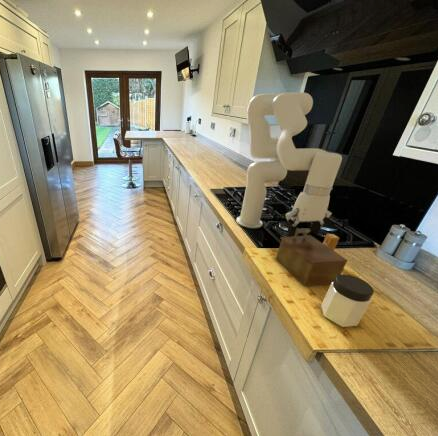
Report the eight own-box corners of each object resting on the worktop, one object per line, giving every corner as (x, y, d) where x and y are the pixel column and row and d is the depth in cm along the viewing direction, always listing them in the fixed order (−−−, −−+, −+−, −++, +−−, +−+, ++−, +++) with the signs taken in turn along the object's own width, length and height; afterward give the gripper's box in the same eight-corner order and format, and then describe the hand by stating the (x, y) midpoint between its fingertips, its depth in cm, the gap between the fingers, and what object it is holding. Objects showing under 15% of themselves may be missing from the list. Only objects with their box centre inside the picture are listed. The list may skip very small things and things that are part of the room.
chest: (275, 258, 94) (281, 239, 90) (304, 256, 95) (311, 238, 91) (303, 285, 80) (312, 264, 76) (336, 282, 81) (346, 262, 77)
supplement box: (331, 259, 93) (340, 238, 89) (322, 259, 94) (331, 237, 89) (325, 254, 96) (334, 233, 92) (317, 254, 97) (325, 233, 92)
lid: (280, 238, 90) (283, 226, 88) (309, 236, 92) (314, 225, 90) (312, 264, 76) (317, 251, 74) (346, 262, 77) (353, 248, 75)
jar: (340, 303, 73) (356, 272, 67) (364, 326, 65) (384, 293, 60) (313, 305, 72) (327, 274, 67) (335, 328, 65) (352, 295, 59)
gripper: (330, 185, 85) (315, 227, 92) (286, 187, 83) (274, 230, 90) (349, 192, 78) (331, 237, 85) (301, 194, 76) (287, 240, 83)
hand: (302, 233), depth 88 cm, fingers open, 9 cm apart
